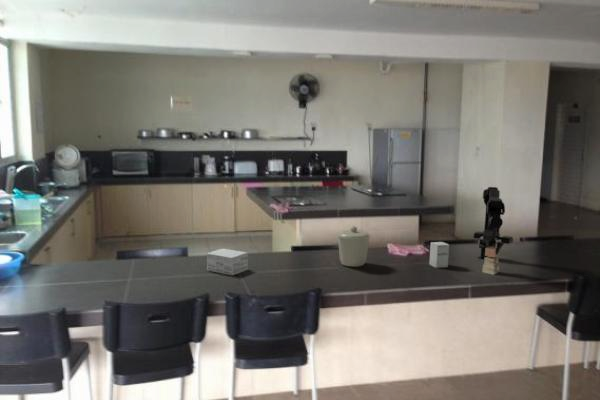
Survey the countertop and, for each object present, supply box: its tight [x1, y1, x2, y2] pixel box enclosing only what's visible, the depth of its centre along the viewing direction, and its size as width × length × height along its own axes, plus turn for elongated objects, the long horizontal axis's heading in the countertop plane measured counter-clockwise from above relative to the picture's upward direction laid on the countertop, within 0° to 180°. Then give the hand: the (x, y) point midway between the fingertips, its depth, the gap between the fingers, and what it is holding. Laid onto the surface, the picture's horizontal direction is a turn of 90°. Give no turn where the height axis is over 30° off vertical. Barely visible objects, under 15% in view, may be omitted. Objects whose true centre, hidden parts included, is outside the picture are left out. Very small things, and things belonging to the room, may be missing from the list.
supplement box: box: [428, 241, 450, 269], centre depth 279 cm, size 7×7×13 cm
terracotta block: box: [485, 246, 499, 258], centre depth 268 cm, size 5×5×4 cm
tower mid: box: [483, 256, 499, 267], centre depth 268 cm, size 5×5×4 cm
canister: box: [336, 225, 371, 268], centre depth 278 cm, size 18×18×21 cm
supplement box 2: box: [206, 248, 249, 276], centre depth 265 cm, size 17×13×9 cm
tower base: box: [482, 264, 500, 276], centre depth 269 cm, size 6×6×4 cm
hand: (491, 253), depth 268 cm, fingers closed on terracotta block, 5 cm apart
